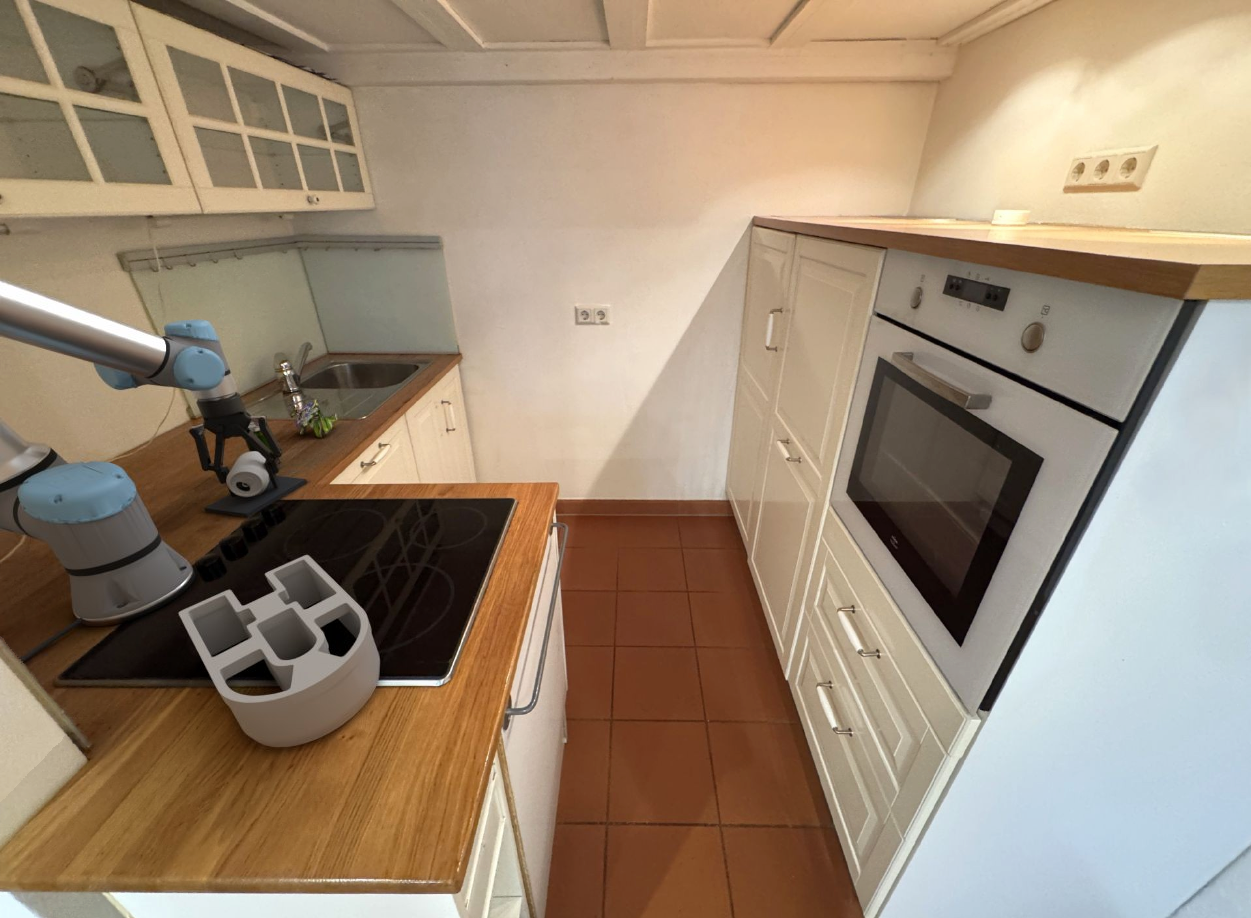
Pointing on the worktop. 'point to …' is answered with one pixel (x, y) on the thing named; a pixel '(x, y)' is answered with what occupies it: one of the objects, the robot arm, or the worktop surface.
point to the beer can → (258, 433)
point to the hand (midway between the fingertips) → (256, 489)
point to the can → (248, 475)
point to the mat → (255, 498)
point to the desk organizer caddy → (288, 654)
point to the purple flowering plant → (309, 415)
